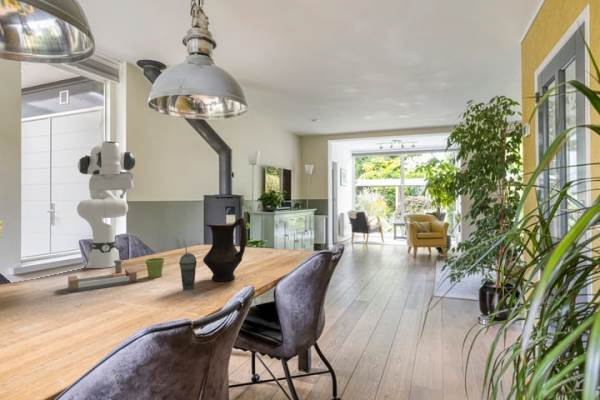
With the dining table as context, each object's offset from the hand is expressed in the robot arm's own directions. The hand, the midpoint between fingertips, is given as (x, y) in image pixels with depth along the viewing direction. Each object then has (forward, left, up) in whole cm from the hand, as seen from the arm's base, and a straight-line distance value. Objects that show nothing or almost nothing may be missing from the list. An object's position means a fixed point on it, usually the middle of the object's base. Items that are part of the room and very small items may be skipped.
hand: (112, 198), depth 175 cm
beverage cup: (+50, +21, -39) cm, 67 cm away
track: (+18, -7, -39) cm, 44 cm away
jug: (+44, +41, -39) cm, 72 cm away
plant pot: (+16, +16, -40) cm, 46 cm away
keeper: (+18, -1, -38) cm, 42 cm away
